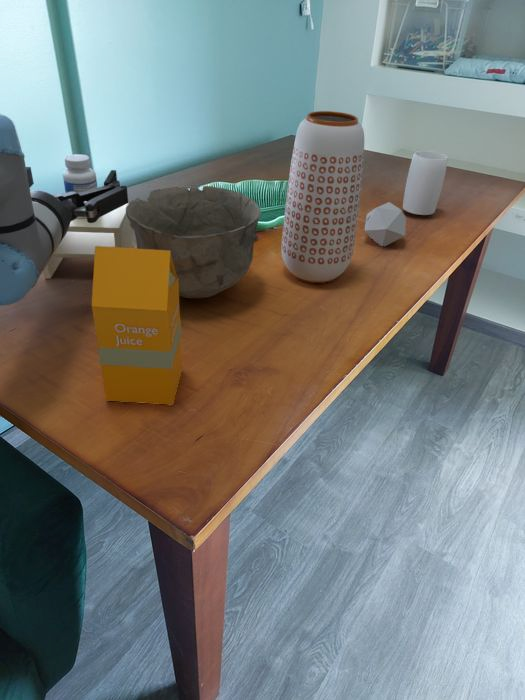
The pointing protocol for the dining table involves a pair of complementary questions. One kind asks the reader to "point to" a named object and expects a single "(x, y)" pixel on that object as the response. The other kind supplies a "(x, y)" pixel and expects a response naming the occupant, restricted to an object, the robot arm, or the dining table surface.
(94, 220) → the robot arm
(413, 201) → the cup
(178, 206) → the bowl
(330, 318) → the dining table surface
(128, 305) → the orange juice
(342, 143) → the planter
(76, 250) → the shelf
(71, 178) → the pill bottle
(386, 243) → the die
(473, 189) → the dining table surface
